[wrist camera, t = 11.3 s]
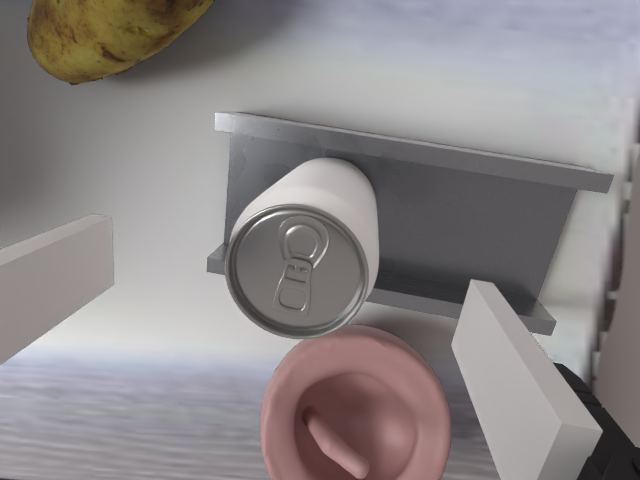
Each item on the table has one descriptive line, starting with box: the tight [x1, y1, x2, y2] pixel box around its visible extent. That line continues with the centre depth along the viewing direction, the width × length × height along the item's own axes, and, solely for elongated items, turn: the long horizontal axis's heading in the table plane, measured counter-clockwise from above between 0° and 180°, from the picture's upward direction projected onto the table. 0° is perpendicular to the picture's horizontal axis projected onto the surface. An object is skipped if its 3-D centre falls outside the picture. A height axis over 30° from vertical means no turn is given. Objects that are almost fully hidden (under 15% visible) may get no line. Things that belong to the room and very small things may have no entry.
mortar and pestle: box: [260, 325, 452, 480], centre depth 26 cm, size 12×12×11 cm
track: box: [207, 112, 614, 336], centre depth 25 cm, size 22×10×4 cm, turn 82°
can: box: [225, 158, 379, 339], centre depth 21 cm, size 6×6×12 cm
